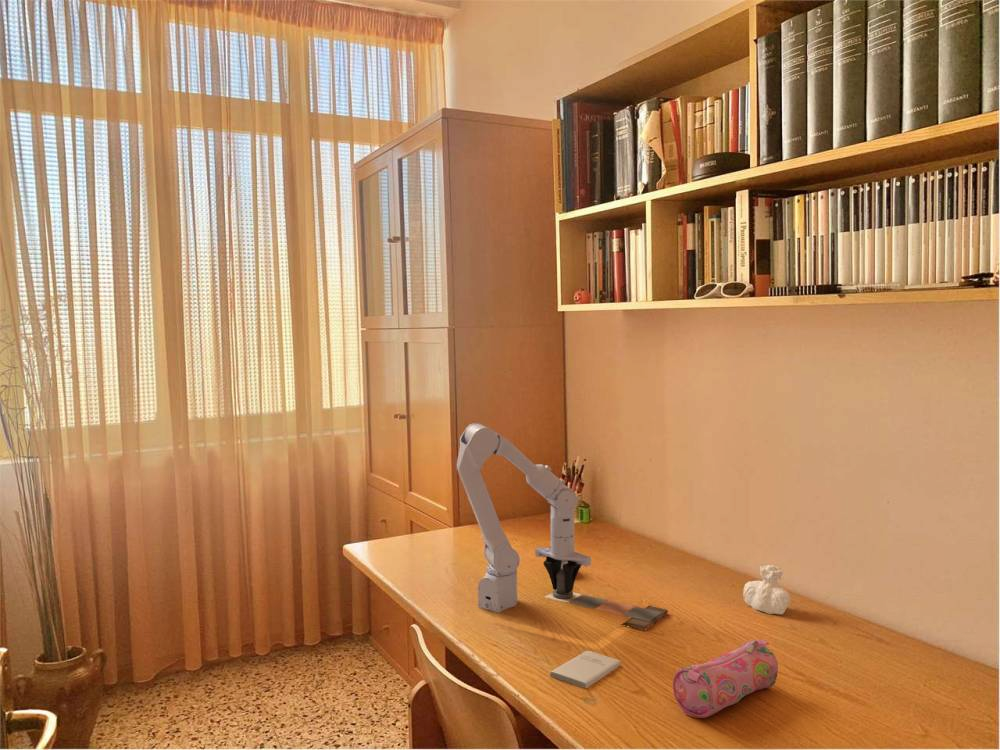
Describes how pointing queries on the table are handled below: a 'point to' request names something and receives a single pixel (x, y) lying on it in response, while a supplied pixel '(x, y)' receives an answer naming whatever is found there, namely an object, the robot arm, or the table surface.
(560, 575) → the pawn
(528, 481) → the robot arm
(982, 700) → the table surface
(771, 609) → the bust
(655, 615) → the board
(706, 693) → the pencil case
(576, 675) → the external hard drive
